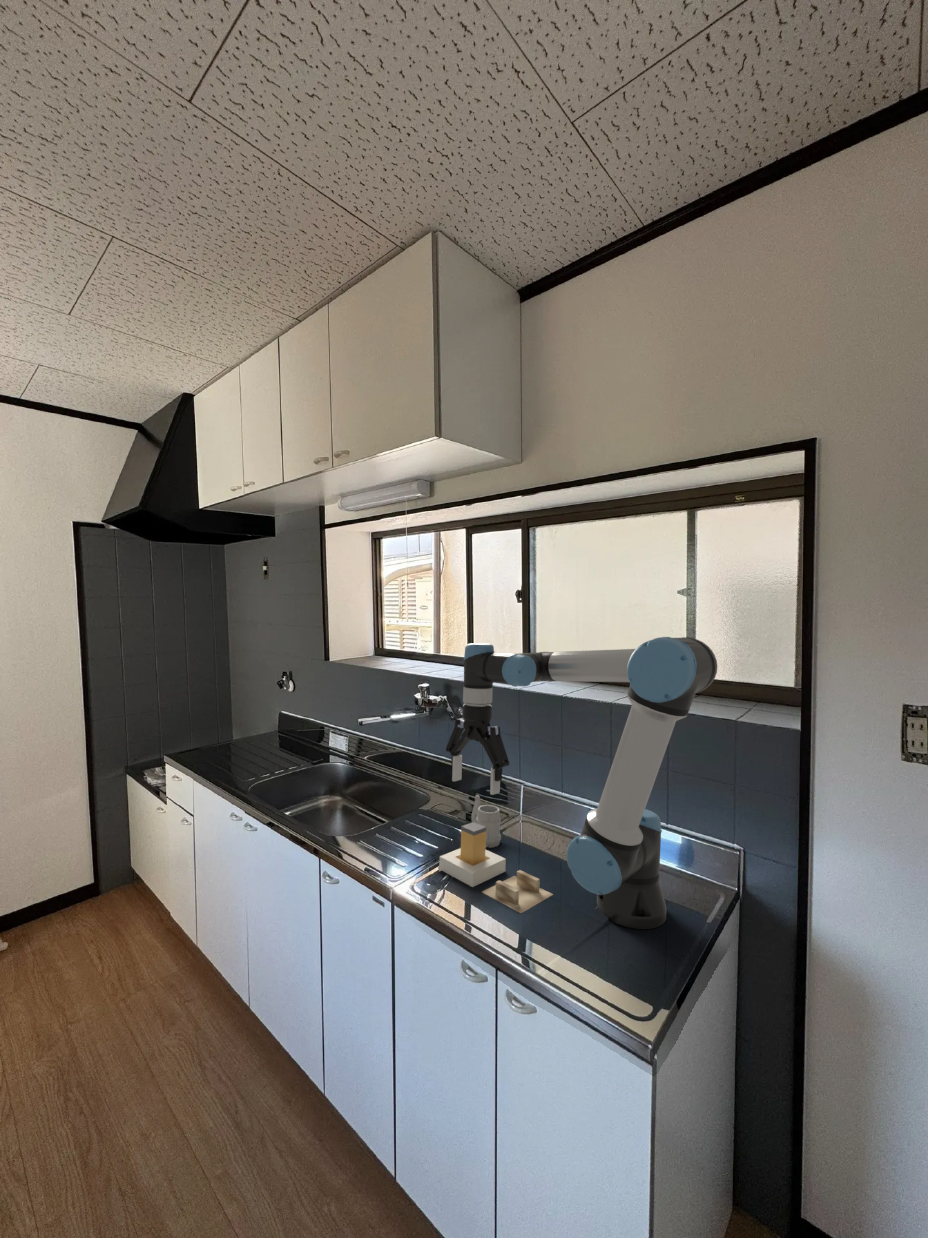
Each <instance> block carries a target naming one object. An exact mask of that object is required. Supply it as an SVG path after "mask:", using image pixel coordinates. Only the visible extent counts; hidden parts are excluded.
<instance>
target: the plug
mask: <svg viewBox="0 0 928 1238" xmlns="http://www.w3.org/2000/svg"><path fill="white" fill-rule="evenodd" d="M460 827H461V829H460V830H461V831H460V833H461V834H460V848H461V855H460V860H462V861H464V862H466V863H468V864H470V865H472V866H474V865H476V864H479V863H481V862H483V861H485V850H487V847H486V827H485V826H482V825H480V824H478V823H475V822H472V821H471V822H469V823H467V824H464V825H461V826H460Z"/></svg>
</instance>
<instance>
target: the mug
mask: <svg viewBox="0 0 928 1238" xmlns="http://www.w3.org/2000/svg"><path fill="white" fill-rule="evenodd" d="M501 819H502V818H501V816H500V807H498V806H496V805H491V804H485V805H483V804H482V805H481V797H480V795H479V794H476V795H475V797H474V804H473V807H472V813H471V823H472V822H475V823H478V824H480V825H482V826H485V827H486V848H488V849H490V848H492V849H493V848H495V847H498V846H500V843H501V840H502V834H501V832H500V831H501V828H500V826H501V825H500V824H501V823H502V820H501Z"/></svg>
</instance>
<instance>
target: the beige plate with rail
mask: <svg viewBox="0 0 928 1238" xmlns="http://www.w3.org/2000/svg"><path fill="white" fill-rule="evenodd" d="M540 883H541V882H540V878H538V877H537V876H534V875H532V874H529V873H527V872H525V871H523V870H521V869H519V870H517V871H516V875H512V876H510V877H509V878H507V879H505V880H503V881H502V880H497V881H495V885H493V886H491V887H487V888H486V889H485V890H483V891H481V893H483V894H484V895H486V896H488V897H489V898H491V899H494V900H495V901H497V902H499V903H501V904H503V905H505V906H506V907H508V908H510V909H511V910H513V911H515V912H518V914H519V913H520V914H523V913H525V912H526V911H528V910H530V909H532V908H533V907H535V906H536V905H538V904H540V903H542V902H543V901H545V900H547V899H549V898H550V897H552V896H554V893H552V892H549V891H547V890H545V889H543V888H541V887H540Z"/></svg>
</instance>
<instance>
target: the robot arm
mask: <svg viewBox="0 0 928 1238" xmlns="http://www.w3.org/2000/svg"><path fill="white" fill-rule="evenodd" d="M717 674H718V661H717V658H716V655H715V653H714V652H713V650H712V648H710V647H709V646H708V645H707V644H706V643H705V642H703V641H701V640H699V639H697V638H695V637H670V636H662V637H656V638H652V639H649V640H647V641H645V642H643V643H641V644H640V645H639V646H638V647H636V648H626V649H625V648H624V649H623V648H621V649H619V648H618V649H596V650H572V651H571V650H569V651H568V650H567V651H539V652H522V653H521V652H520V653H501V652H495V647H494V645H493V644H491V643H479V642H478V643H477V642H476V643H472V642H471V643H467V644H466V645H465V647H464V656H463V691H462V692H463V693H462V702H463V705H462V717H461V718H456V719H455V720H454V727H453V730H452V733H451V735H450V737H449V740H448V743H447V745H446V748H445V750H446V752H448V753H450V756H451V763H450V764H451V767H452V771H451V772H452V773H451V775H452V777H451V781H452V782H458V781H462V776H463V775H462V773H463V770H462V769H463V754H462V751H463V750H464V748H465V747H466V746H467V744H468V743H469V742H470V741H473V740H474V741H475V742H478V743H480V745H482V747H483V749H484V751H485V752H486V755H487V756H488V758H489V761H490V762H491V764H492V765H493V766H492V767H490V789H489V790H490V791H489V794H490V795H492V796H493V795H497V794H500V792H501V791H500V790H501V781H502V779H503V768H504V767H508V766H509V765H510V761H509V757H508V755H507V751H506V749H505V745H504V742H503V738H502V735H501V727H500V726H499V725H496V726H491V720H492V718H493V705H492V703H493V689H494V688H493V687H494V683H495V684H501V685H508V686H512V687H515V688H516V687H529V686H530V685H531V683H536V682H537V683H538V682H584V683H585V682H587V683H589V682H595V683H597V682H598V683H600V682H602V683H603V682H604V683H629V687H628V690H627V694H626V697H627V698H628V700H629V702H630V703H631V708H630V710H629V713H628V717H627V719H626V722H625V725H624V728H623V731H622V734H621V737H620V740H619V743H618V745H617V749H616V752H615V754H614V758H613V761H612V763H611V768H610V769H609V772H608V775H607V779H606V782H605V785H604V787H603V791H602V794H601V797H600V799H599V803H598V806H597V808H593V809H590V810H589V811H588V813H587V814H586V817H585V820H584V823H583V826H582V828H581V832H580V834H579V835H577V836H575V837H573V839H572V840H571V841H570V842H569V844H568V846H567V847H566V862H567V866H568V869H570V872H571V875H572V877H573V878H574V880H575V881H576V882H577V884H579V885H580V886H581V887H582V888H583V889H584V890H585V891H588V892H590V893H592V894H594V895H596V905H597V908H598V909H599V910H600V911H601V913H602V914H604V915H605V916H606V917H608V920H609V921H611V922H612V923H614V924H616V925H620V926H623V927H626V928H629V929H634V930H635V929H636V930H652V929H656V928H658V927H661V926H662V925H663V924H664V923H666V921H667V909H668V908H667V904H666V900H665V897H664V893H663V889H662V886H661V883H660V868H661V867H660V866H661V864H660V863H661V841H662V835H661V834H662V833H663V831H662V825H661V824H662V821H661V818H660V816H659V815H658V814H657V813H655V812H654V811H652V810H649V809H646V807H647V803H648V801H649V799H650V797H651V793H652V790H653V788H654V784H655V782H656V779H657V776H658V773H659V771H660V768H661V765H662V762H663V760H664V757H665V753H666V751H667V748H668V745H669V742H670V739H671V737H672V734H673V731H674V728H675V725H676V722H678V721H679V720H682V719H684V718H687V716H688V715H689V712H690V711H691V707H692V703H693V701H694V699H695V695H696V694H697V693H701V692H703V691H705V690H706V689H707V688H708V687H710V686H711V684H712V683H713V682H714V680H715V678H716V676H717Z"/></svg>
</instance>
